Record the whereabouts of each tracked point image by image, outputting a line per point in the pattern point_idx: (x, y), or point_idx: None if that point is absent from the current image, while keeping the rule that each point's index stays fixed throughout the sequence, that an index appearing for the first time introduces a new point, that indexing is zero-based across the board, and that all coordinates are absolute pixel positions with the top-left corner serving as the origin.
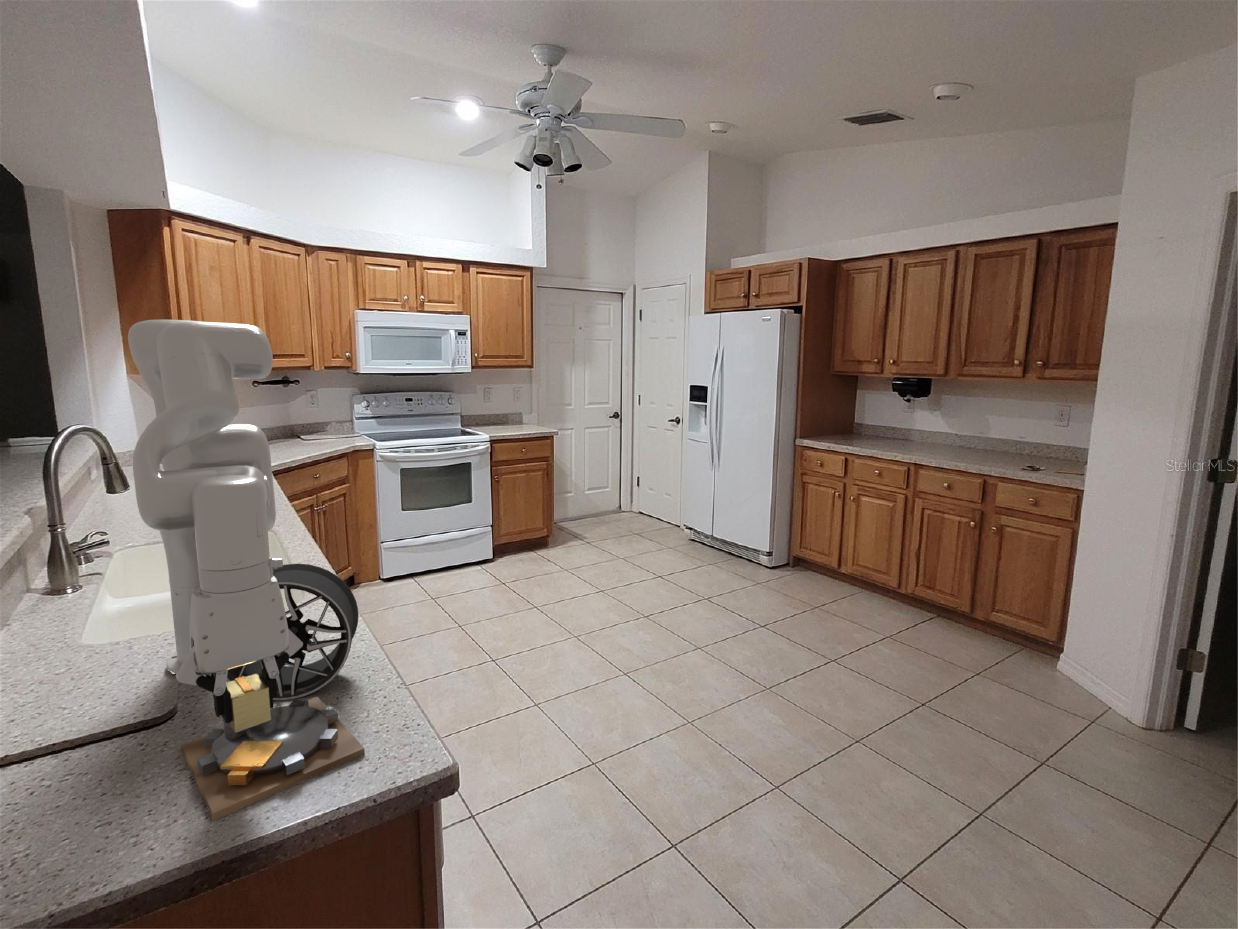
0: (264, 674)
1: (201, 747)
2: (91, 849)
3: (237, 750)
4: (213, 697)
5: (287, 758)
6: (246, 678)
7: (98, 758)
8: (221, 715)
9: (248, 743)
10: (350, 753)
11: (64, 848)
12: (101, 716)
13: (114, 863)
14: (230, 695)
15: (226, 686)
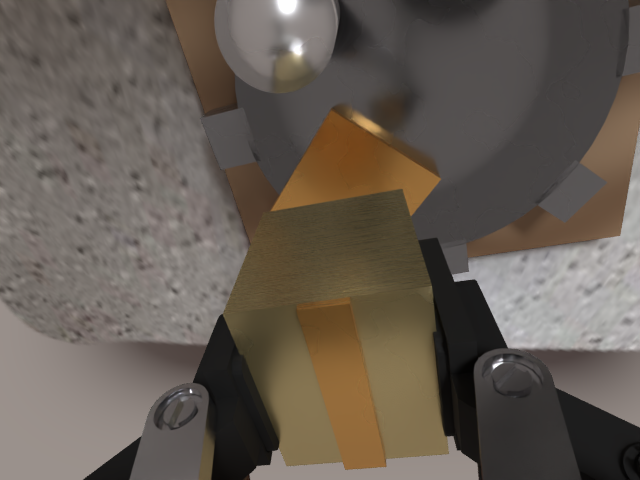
0: (461, 445)
1: None
2: (65, 240)
3: (311, 157)
4: (200, 365)
5: None
6: (362, 318)
7: None
8: None
9: (344, 133)
10: (579, 240)
11: (9, 211)
12: None
13: (122, 293)
14: (277, 447)
15: (253, 465)
